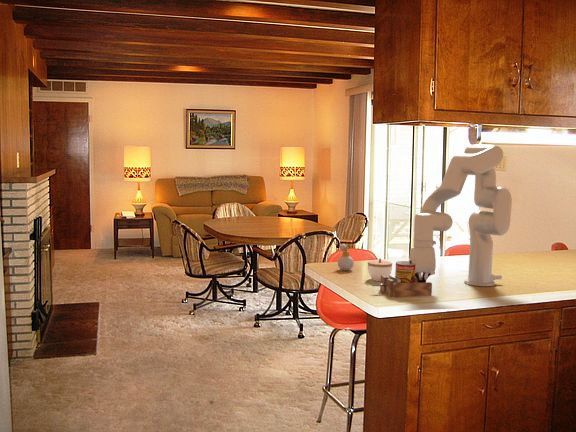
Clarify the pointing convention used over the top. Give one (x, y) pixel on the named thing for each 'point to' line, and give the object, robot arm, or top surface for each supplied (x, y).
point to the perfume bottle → (345, 259)
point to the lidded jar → (379, 269)
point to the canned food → (405, 271)
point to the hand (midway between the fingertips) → (421, 288)
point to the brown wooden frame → (405, 288)
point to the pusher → (396, 280)
